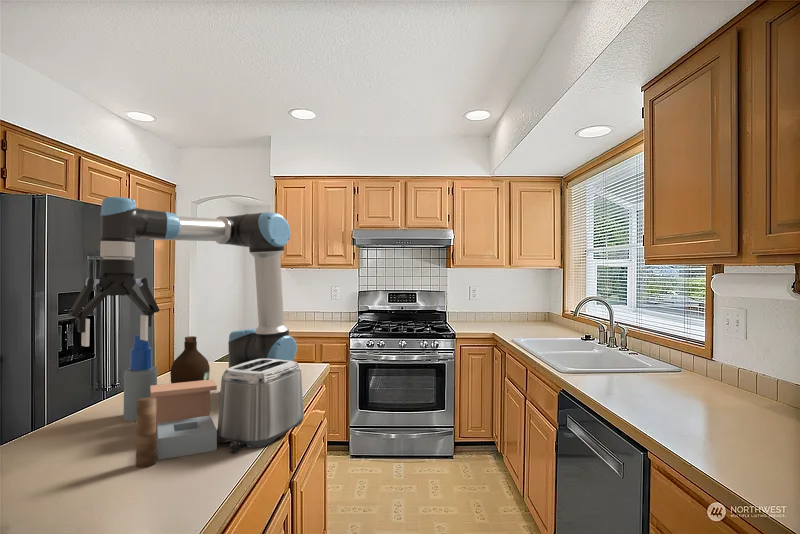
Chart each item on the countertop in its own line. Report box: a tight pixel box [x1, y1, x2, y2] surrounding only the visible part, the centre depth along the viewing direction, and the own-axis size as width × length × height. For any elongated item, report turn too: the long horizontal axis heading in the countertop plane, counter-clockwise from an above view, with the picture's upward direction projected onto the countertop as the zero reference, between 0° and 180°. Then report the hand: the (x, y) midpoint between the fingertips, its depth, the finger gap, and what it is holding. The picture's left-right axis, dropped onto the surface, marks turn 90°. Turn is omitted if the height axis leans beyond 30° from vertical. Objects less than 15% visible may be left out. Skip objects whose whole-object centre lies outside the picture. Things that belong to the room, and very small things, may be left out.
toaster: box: [216, 359, 305, 454], centre depth 129 cm, size 17×30×19 cm, turn 161°
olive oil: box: [170, 335, 211, 384], centre depth 139 cm, size 11×11×25 cm
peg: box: [135, 397, 157, 469], centre depth 108 cm, size 4×4×15 cm
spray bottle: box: [123, 333, 158, 422], centre depth 143 cm, size 9×9×25 cm
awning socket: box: [150, 378, 218, 461], centre depth 123 cm, size 16×20×13 cm
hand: (115, 342), depth 118 cm, fingers open, 13 cm apart
